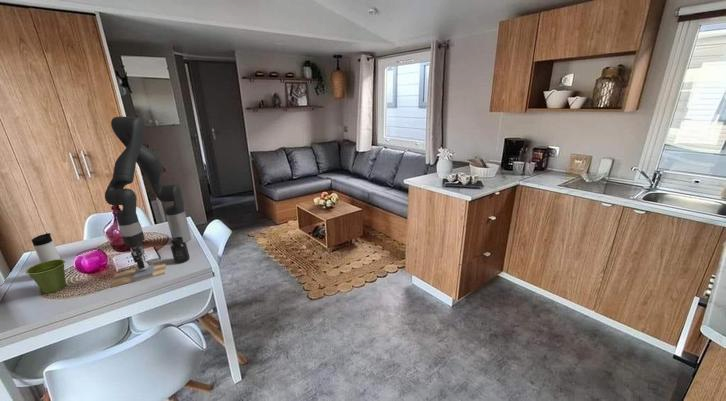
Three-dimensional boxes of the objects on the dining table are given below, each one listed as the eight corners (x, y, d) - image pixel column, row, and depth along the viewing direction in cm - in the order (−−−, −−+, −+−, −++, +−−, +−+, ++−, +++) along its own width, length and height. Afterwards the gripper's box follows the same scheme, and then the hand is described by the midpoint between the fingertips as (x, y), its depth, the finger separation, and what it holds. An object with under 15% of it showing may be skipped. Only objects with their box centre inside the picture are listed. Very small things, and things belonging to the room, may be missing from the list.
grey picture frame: (135, 268, 139) (133, 277, 132) (153, 264, 143) (151, 272, 135) (136, 271, 140) (134, 280, 132) (154, 266, 143) (152, 275, 136)
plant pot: (40, 300, 122) (29, 276, 118) (32, 291, 128) (22, 269, 124) (77, 285, 131) (68, 263, 128) (68, 277, 137) (59, 256, 134)
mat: (115, 274, 139) (115, 273, 138) (166, 262, 148) (165, 261, 148) (110, 288, 129) (110, 286, 128) (164, 274, 138) (164, 272, 138)
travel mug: (69, 271, 143) (54, 233, 136) (52, 278, 137) (35, 240, 131) (61, 269, 145) (45, 232, 138) (44, 276, 139) (27, 238, 133)
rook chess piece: (141, 266, 139) (136, 251, 137) (151, 265, 139) (146, 250, 137) (135, 271, 135) (130, 256, 132) (145, 270, 135) (140, 255, 133)
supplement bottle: (193, 256, 153) (187, 235, 149) (184, 263, 146) (178, 242, 142) (180, 256, 153) (175, 235, 149) (171, 263, 147) (165, 241, 143)
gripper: (124, 228, 135) (134, 261, 141) (118, 240, 123) (130, 275, 129) (143, 224, 139) (153, 256, 144) (140, 235, 127) (150, 270, 133)
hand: (142, 265), depth 137 cm, fingers closed on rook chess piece, 4 cm apart
